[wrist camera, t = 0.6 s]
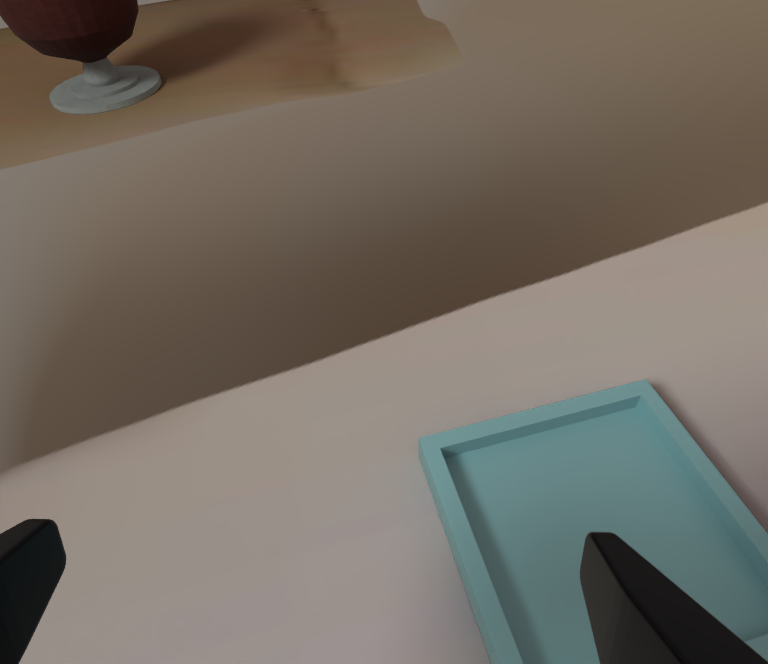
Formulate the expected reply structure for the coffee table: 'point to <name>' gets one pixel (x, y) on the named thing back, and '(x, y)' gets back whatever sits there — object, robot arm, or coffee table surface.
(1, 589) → the robot arm
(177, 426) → the coffee table surface
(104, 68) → the mate gourd
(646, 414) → the tray
